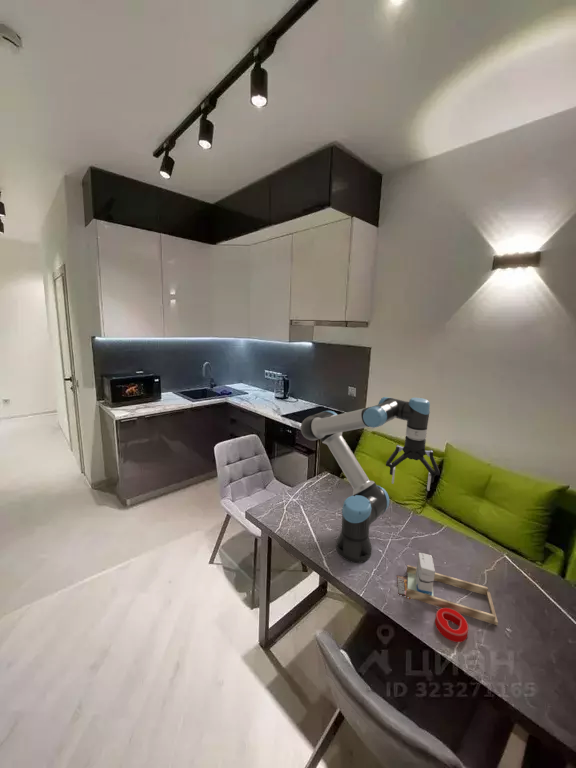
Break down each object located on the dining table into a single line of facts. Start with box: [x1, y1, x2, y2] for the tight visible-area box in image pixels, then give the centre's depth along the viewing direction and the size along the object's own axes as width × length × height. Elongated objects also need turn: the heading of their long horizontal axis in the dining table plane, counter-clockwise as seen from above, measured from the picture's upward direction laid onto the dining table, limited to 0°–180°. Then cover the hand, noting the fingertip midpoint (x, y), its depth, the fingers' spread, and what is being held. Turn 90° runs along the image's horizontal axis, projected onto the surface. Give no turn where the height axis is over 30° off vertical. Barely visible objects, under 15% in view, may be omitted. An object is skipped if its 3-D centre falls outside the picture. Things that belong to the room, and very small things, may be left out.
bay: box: [406, 564, 499, 626], centre depth 117 cm, size 29×13×3 cm, turn 69°
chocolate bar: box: [396, 575, 412, 600], centre depth 121 cm, size 11×5×1 cm, turn 164°
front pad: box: [407, 572, 435, 597], centre depth 121 cm, size 9×11×1 cm
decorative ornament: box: [434, 607, 469, 643], centre depth 105 cm, size 10×10×3 cm
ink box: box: [415, 552, 436, 596], centre depth 119 cm, size 8×5×12 cm, turn 165°
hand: (410, 485), depth 130 cm, fingers open, 13 cm apart
